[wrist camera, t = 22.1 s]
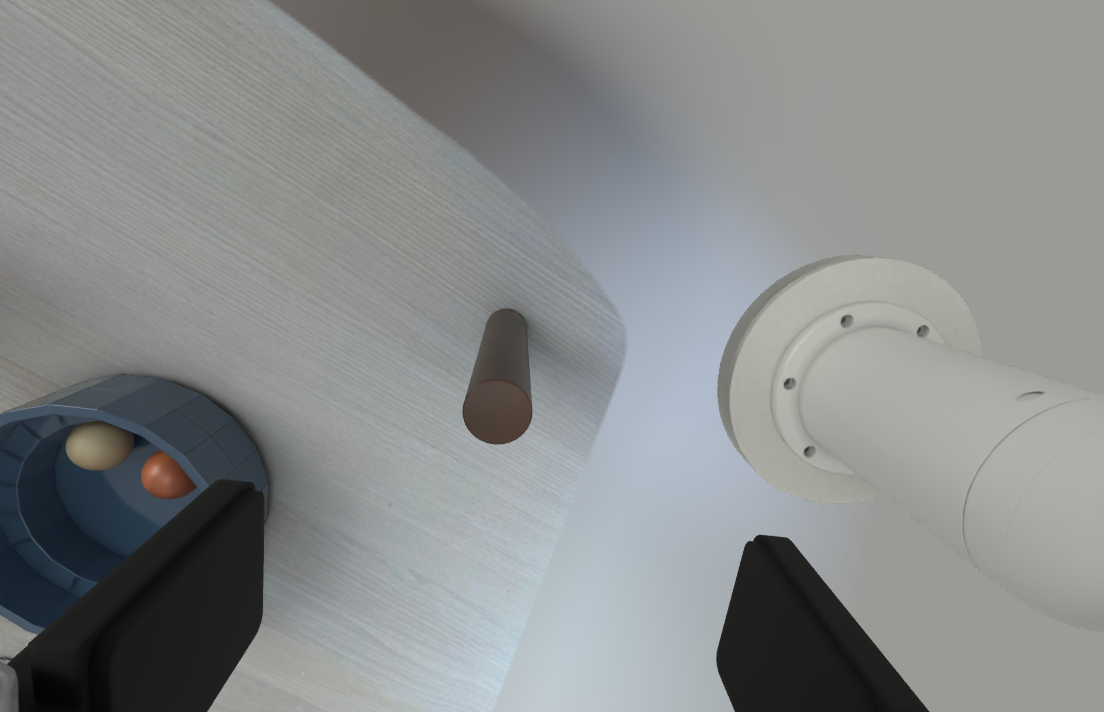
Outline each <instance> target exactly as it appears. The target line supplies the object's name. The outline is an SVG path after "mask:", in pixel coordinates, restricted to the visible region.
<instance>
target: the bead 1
mask: <svg viewBox="0 0 1104 712" xmlns="http://www.w3.org/2000/svg"><path fill="white" fill-rule="evenodd" d="M133 447H134V435H133V433H132V432H130V431H127V430H125V429H122V428H119V427H117V426H114V425H112V424H109V423H106V422H104V421H92V422H86V423H81V424H79V425H77V426H76V427H75V428H74V429H73V430H72V431H71V432H70V434H69V436H68V438H67V440H66V452H67V455H68V457H69V459H70V460H71V461H72V462H73V463H74V464H76V465H77V466H79V467H81V468H84V469H87V470H93V471H100V470H107V469H110V468H113V467H115V466H117V465H119V464H121V463H122V462H123V461H125V460H126V459H127V458H128V456H129V455H130V454H131V452H132V450H133Z"/></svg>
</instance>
